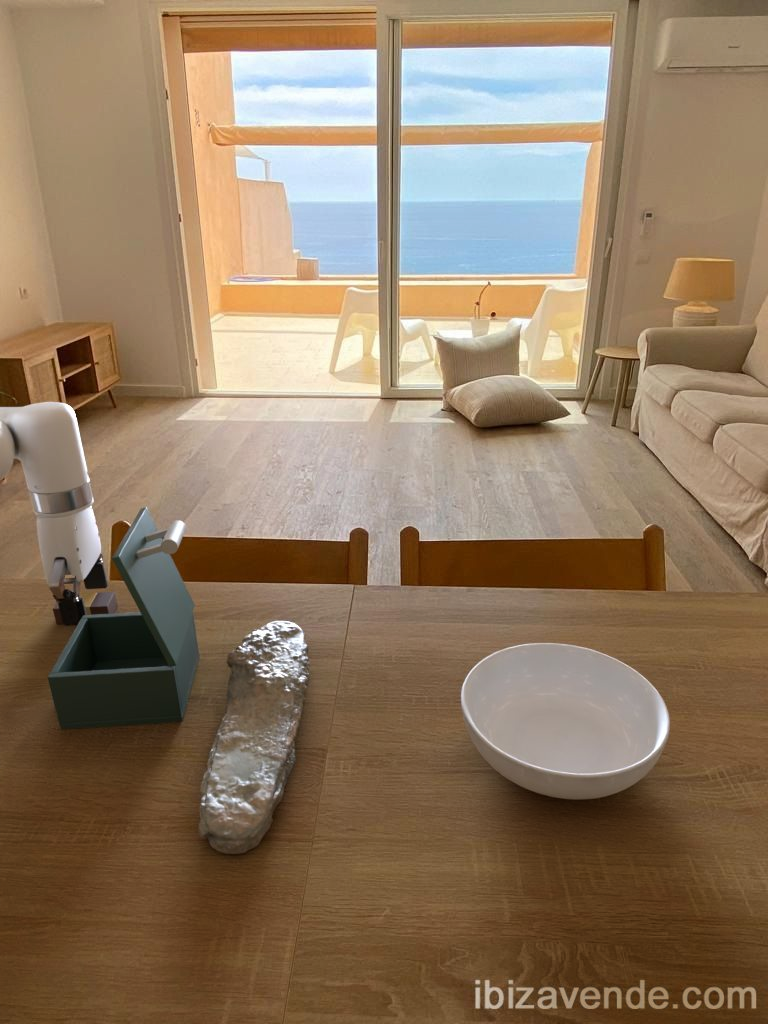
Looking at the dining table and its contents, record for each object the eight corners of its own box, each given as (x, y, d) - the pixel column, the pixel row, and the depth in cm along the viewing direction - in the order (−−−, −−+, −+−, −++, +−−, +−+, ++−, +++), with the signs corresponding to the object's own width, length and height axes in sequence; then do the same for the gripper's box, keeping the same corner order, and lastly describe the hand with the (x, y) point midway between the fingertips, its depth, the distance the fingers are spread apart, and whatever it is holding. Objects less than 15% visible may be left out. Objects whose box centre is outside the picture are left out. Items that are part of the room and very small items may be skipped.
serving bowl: (497, 670, 88) (500, 624, 85) (673, 723, 78) (683, 673, 76) (427, 781, 71) (428, 729, 68) (640, 865, 62) (651, 808, 59)
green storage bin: (60, 729, 79) (47, 677, 76) (93, 662, 90) (82, 615, 87) (182, 721, 80) (173, 669, 77) (199, 656, 91) (192, 608, 88)
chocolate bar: (56, 625, 98) (52, 608, 97) (65, 609, 102) (62, 593, 101) (110, 622, 99) (107, 605, 98) (118, 606, 103) (114, 591, 102)
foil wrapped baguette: (175, 868, 64) (284, 871, 64) (169, 829, 61) (282, 833, 61) (244, 633, 95) (317, 636, 95) (242, 601, 92) (317, 604, 92)
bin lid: (111, 558, 71) (161, 543, 70) (140, 508, 82) (183, 495, 82) (169, 667, 77) (215, 653, 76) (189, 606, 88) (229, 594, 88)
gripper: (55, 474, 100) (79, 577, 108) (6, 525, 85) (38, 641, 92) (108, 471, 101) (128, 574, 108) (69, 521, 85) (96, 638, 92)
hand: (87, 605), depth 100 cm, fingers open, 9 cm apart
